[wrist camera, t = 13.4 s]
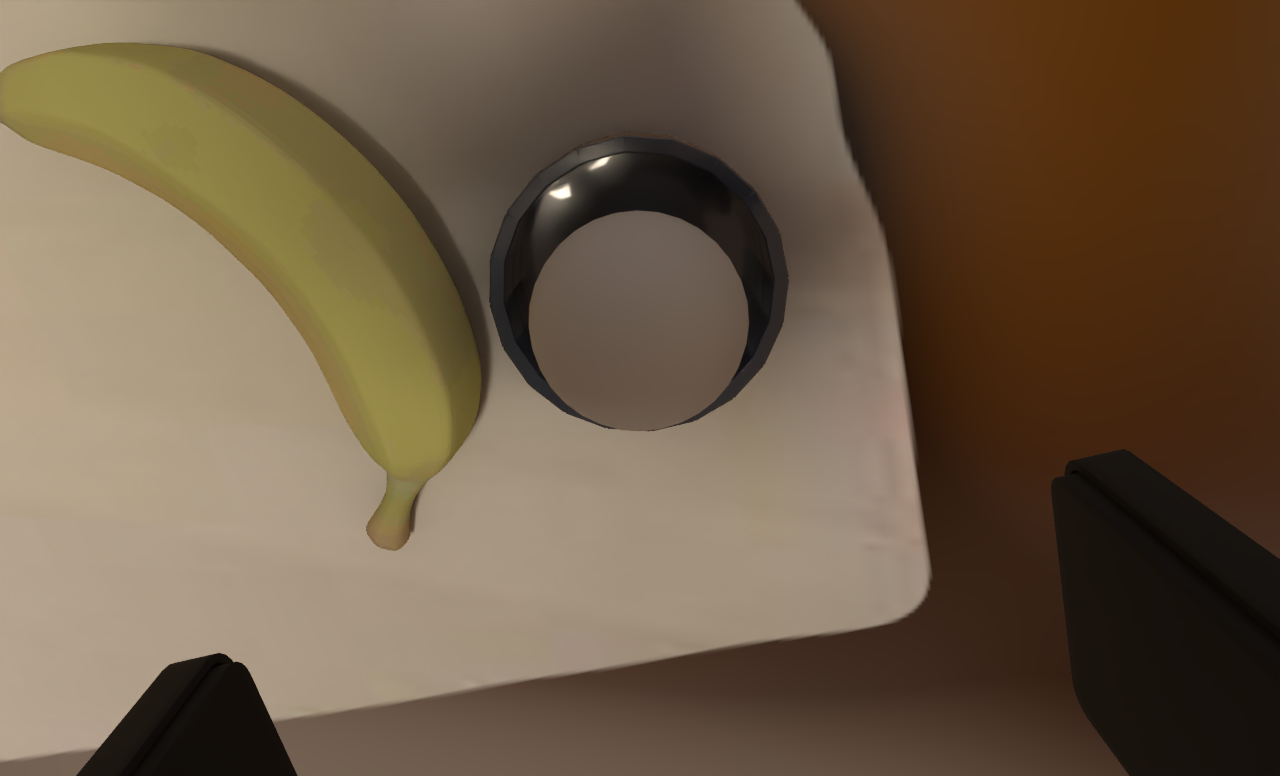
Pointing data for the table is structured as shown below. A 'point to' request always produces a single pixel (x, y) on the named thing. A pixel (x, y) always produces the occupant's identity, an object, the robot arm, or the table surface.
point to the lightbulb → (638, 320)
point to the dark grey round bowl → (642, 181)
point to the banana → (281, 233)
